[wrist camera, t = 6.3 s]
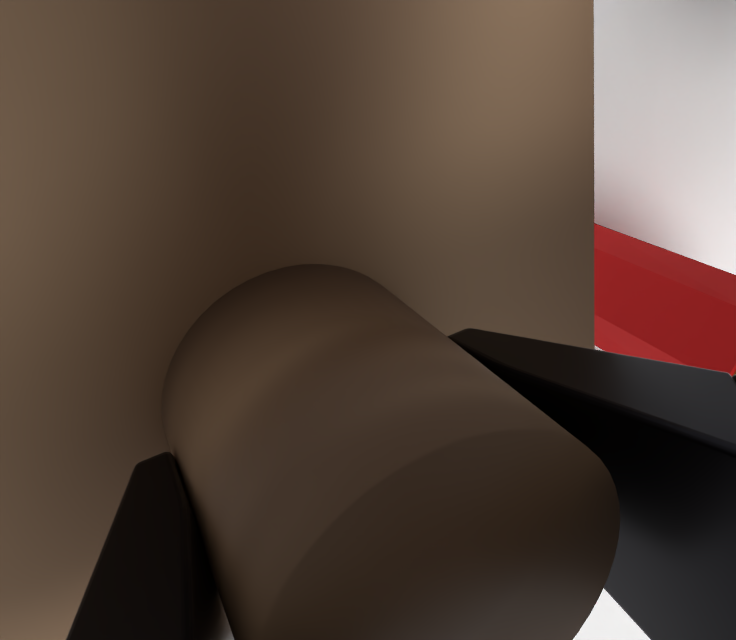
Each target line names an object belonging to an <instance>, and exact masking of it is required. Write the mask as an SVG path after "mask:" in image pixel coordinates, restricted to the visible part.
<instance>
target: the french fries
mask: <svg viewBox="0 0 736 640" xmlns="http://www.w3.org/2000/svg"><path fill="white" fill-rule="evenodd" d="M594 345H596V346H597V347H599V348H601V349H602V350H604V351H606V352H612V353H618V354H623V355H629V356H635V357H641V358H646V359H652V360H658V361H664V362H669V363H675V364H681V365H687V366H692V367H698V368H704V369H710V370H715V371H721V372H727V373H729V374H730V375H731V376H733V375H735V374H736V275H734V274H731V273H728V272H726V271H723V270H720V269H717V268H715V267H712V266H709V265H707V264H704V263H701V262H698V261H696V260H693V259H690V258H687V257H685V256H682V255H679V254H677V253H674V252H671V251H668V250H666V249H663V248H660V247H657V246H655V245H652V244H649V243H646V242H644V241H641V240H638V239H636V238H633V237H630V236H627V235H625V234H622V233H619V232H616V231H614V230H611V229H608V228H606V227H603V226H600V225H597V224H595V223H594Z"/></svg>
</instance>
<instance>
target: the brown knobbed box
mask: <svg viewBox="0 0 736 640" xmlns="http://www.w3.org/2000/svg"><path fill="white" fill-rule="evenodd" d="M466 328H474V329H480V330H485V331H491V332H497V333H503V334H508V335H514V336H520V337H526V338H531V339H537V340H543V341H549V342H554V343H560V344H566V345H572V346H577V347H583V348H589V349H595V348H594V15H593V0H0V640H66V638H67V635H68V633H69V630H70V628H71V625H72V623H73V620H74V618H75V615H76V613H77V610H78V608H79V605H80V603H81V600H82V598H83V595H84V593H85V590H86V587H87V585H88V582H89V580H90V577H91V575H92V572H93V570H94V567H95V565H96V562H97V560H98V557H99V555H100V552H101V550H102V547H103V545H104V542H105V540H106V537H107V535H108V532H109V530H110V527H111V525H112V522H113V519H114V517H115V514H116V512H117V509H118V507H119V504H120V502H121V499H122V497H123V494H124V492H125V489H126V487H127V484H128V482H129V479H130V477H131V474H132V472H133V469H134V467H135V466H136V464H137V463H139V462H141V461H143V460H146V459H148V458H151V457H153V456H156V455H158V454H161V453H163V452H166V451H167V452H170V453H172V455H173V456H174V459H175V461H176V464H177V467H178V470H179V473H180V476H181V479H182V482H183V484H184V487H185V490H186V493H187V496H188V499H189V502H190V505H191V508H192V511H193V514H194V517H195V520H196V523H197V526H198V529H199V532H200V535H201V539H202V542H203V545H204V549H205V553H206V556H207V559H208V562H209V565H210V568H211V572H212V575H213V578H214V581H215V584H216V587H217V590H218V593H219V596H220V599H221V602H222V605H223V608H224V611H225V614H226V617H227V619H228V622H229V625H230V628H231V631H232V634H233V637H234V640H573V638H574V637H575V636H576V634H577V633H578V631H579V630H580V628H581V627H582V625H583V624H584V622H585V621H586V619H587V618H588V616H589V615H590V613H591V611H592V609H593V607H594V605H595V604H596V602H597V600H598V598H599V596H600V594H601V592H602V590H603V587H604V585H605V583H606V581H607V578H608V576H609V573H610V570H611V567H612V564H613V561H614V558H615V553H616V549H617V544H618V539H619V529H620V506H619V499H618V495H617V490H616V486H615V484H614V482H613V479H612V477H611V475H610V472H609V471H608V469H607V468H606V466H605V465H604V464H603V462H602V461H601V459H600V458H599V457H598V456H597V455H596V454H595V453H593V452H592V451H591V450H590V449H589V448H588V447H587V446H586V445H584V444H583V443H582V442H580V441H579V440H578V439H577V438H575V437H574V436H573V435H572V434H570V433H569V432H568V431H566V430H565V429H564V428H563V427H561V426H560V425H559V424H558V423H556V422H555V421H554V420H552V419H551V418H550V417H549V416H547V415H546V414H545V413H544V412H542V411H541V410H540V409H538V408H537V407H536V406H535V405H533V404H532V403H531V402H530V401H528V400H527V399H526V398H525V397H523V396H522V395H521V394H519V393H518V392H517V391H516V390H514V389H513V388H512V387H511V386H509V385H508V384H507V383H505V382H504V381H503V380H502V379H500V378H499V377H498V376H497V375H495V374H494V373H493V372H491V371H490V370H489V369H488V368H486V367H485V366H484V365H483V364H481V363H480V362H479V361H477V360H476V359H475V358H474V357H472V356H471V355H470V354H469V353H467V352H466V351H465V350H463V349H462V348H461V347H460V346H458V345H457V344H456V343H455V342H453V341H452V340H451V339H449V338H448V337H447V336H449V335H451V334H454V333H456V332H459V331H461V330H463V329H466Z"/></svg>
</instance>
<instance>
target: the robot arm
mask: <svg viewBox="0 0 736 640" xmlns="http://www.w3.org/2000/svg"><path fill="white" fill-rule="evenodd" d="M447 337H448V338H449V339H451V340H452V341H453V342H455V343H456V344H457V345H458V346H460V347H461V348H462V349H463V350H465V351H466V352H467V353H469V354H470V355H471V356H472V357H474V358H475V359H476V360H477V361H479V362H480V363H481V364H483V365H484V366H485V367H486V368H488V369H489V370H490V371H491V372H493V373H494V374H495V375H497V376H498V377H499V378H500V379H502V380H503V381H504V382H505V383H507V384H508V385H509V386H511V387H512V388H513V389H514V390H516V391H517V392H518V393H519V394H521V395H522V396H523V397H525V398H526V399H527V400H528V401H530V402H531V403H532V404H533V405H535V406H536V407H537V408H538V409H540V410H541V411H542V412H544V413H545V414H546V415H547V416H549V417H550V418H551V419H552V420H554V421H555V422H556V423H558V424H559V425H560V426H561V427H563V428H564V429H565V430H566V431H568V432H569V433H570V434H572V435H573V436H574V437H575V438H577V439H578V440H579V441H580V442H582V443H583V444H584V445H586V446H587V447H588V448H589V449H590V450H591V451H592V452H593V453H595V454H596V455H597V456H598V457H599V458H600V459H601V461H602V462H603V464H604V465H605V466H606V468H607V469H608V471H609V472H610V475H611V477H612V479H613V482H614V484H615V486H616V490H617V495H618V499H619V506H620V529H619V539H618V544H617V549H616V553H615V558H614V561H613V564H612V567H611V570H610V573H609V576H608V578H607V581H606V583H605V585H604V587H603V588H604V589H605V590H606V591H607V592H608V593H609V594H610V595H611V597H612V598H613V599H614V600H615V601H616V602H617V603H618V604H619V605H620V606H621V607H622V609H623V610H624V611H625V612H626V613H627V614H628V615H629V616H630V617H631V618H632V619H633V621H634V622H635V623H636V624H637V625H638V626H639V627H640V628H641V629H642V630H643V631H644V633H645V634H646V635H647V636H648V637H649V638H650V639H651V640H736V374H735V375H733V376H731V375H730V374H729V373H727V372H721V371H715V370H710V369H704V368H698V367H692V366H687V365H681V364H675V363H669V362H664V361H658V360H652V359H646V358H641V357H635V356H629V355H623V354H618V353H612V352H606V351H600V350H595V349H589V348H583V347H577V346H572V345H566V344H560V343H554V342H549V341H543V340H537V339H531V338H526V337H520V336H514V335H508V334H503V333H497V332H491V331H485V330H480V329H474V328H466V329H463V330H461V331H459V332H456V333H454V334H451V335H449V336H447ZM66 640H234V637H233V634H232V631H231V628H230V625H229V622H228V619H227V617H226V614H225V611H224V608H223V605H222V602H221V599H220V596H219V593H218V590H217V587H216V584H215V581H214V578H213V575H212V572H211V568H210V565H209V562H208V559H207V556H206V553H205V549H204V545H203V542H202V539H201V535H200V532H199V529H198V526H197V523H196V520H195V517H194V514H193V511H192V508H191V505H190V502H189V499H188V496H187V493H186V490H185V487H184V484H183V482H182V479H181V476H180V473H179V470H178V467H177V464H176V461H175V459H174V456H173V455H172V453H170V452H167V451H166V452H163V453H161V454H158V455H156V456H153V457H151V458H148V459H146V460H143V461H141V462H139V463H137V464H136V466H135V467H134V469H133V472H132V474H131V477H130V479H129V482H128V484H127V487H126V489H125V492H124V494H123V497H122V499H121V502H120V504H119V507H118V509H117V512H116V514H115V517H114V519H113V522H112V525H111V527H110V530H109V532H108V535H107V537H106V540H105V542H104V545H103V547H102V550H101V552H100V555H99V557H98V560H97V562H96V565H95V567H94V570H93V572H92V575H91V577H90V580H89V582H88V585H87V587H86V590H85V593H84V595H83V598H82V600H81V603H80V605H79V608H78V610H77V613H76V615H75V618H74V620H73V623H72V625H71V628H70V630H69V633H68V635H67V638H66Z"/></svg>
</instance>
